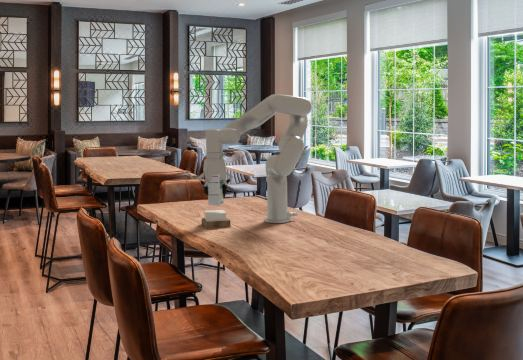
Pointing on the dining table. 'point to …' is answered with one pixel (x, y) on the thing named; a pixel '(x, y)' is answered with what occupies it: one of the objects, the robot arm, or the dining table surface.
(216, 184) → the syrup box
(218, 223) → the walnut slab
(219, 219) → the white slab
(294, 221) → the dining table surface
